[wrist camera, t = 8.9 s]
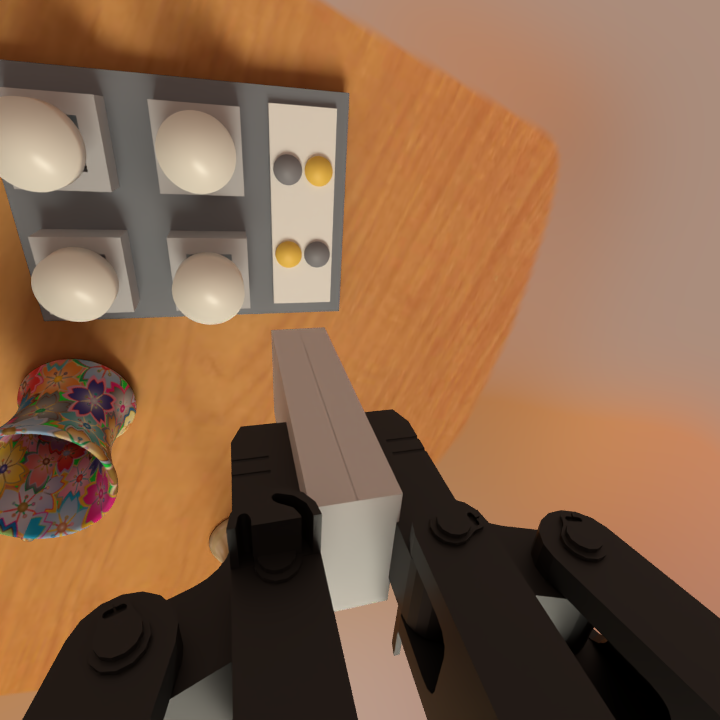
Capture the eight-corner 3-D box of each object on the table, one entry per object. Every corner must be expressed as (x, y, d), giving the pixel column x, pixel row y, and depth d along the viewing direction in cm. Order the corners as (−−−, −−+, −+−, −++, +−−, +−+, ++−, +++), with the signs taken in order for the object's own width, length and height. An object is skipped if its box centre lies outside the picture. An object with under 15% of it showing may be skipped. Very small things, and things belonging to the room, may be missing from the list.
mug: (27, 334, 33) (-46, 413, 24) (156, 367, 37) (133, 447, 28) (2, 454, 37) (-70, 560, 28) (120, 473, 41) (90, 572, 32)
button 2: (21, 181, 26) (-9, 190, 23) (-3, 95, 24) (-40, 91, 21) (103, 184, 27) (86, 193, 24) (87, 102, 25) (66, 99, 22)
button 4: (168, 184, 29) (161, 192, 26) (159, 107, 27) (149, 106, 24) (237, 186, 30) (238, 195, 27) (233, 113, 28) (233, 113, 25)
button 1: (62, 301, 31) (42, 323, 27) (45, 237, 29) (21, 253, 25) (131, 299, 32) (119, 320, 29) (119, 238, 30) (105, 253, 26)
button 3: (182, 304, 32) (176, 326, 28) (174, 243, 30) (167, 258, 26) (244, 302, 33) (246, 323, 30) (240, 243, 31) (242, 258, 27)
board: (51, 313, 33) (32, 334, 30) (-22, 59, 26) (-57, 51, 22) (335, 304, 39) (345, 321, 35) (344, 94, 31) (357, 91, 28)
